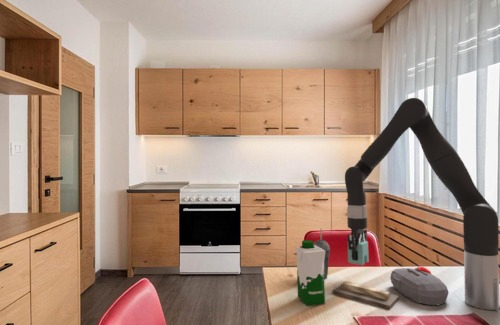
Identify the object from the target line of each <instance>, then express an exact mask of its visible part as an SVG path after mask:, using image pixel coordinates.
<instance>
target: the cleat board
mask: <svg viewBox="0 0 500 325" xmlns="http://www.w3.org/2000/svg"><path fill="white" fill-rule="evenodd" d="M332 294H333V295H336V296H340V297H344V298H347V299H351V300H355V301H358V302H361V303H365V304H369V305H372V306H375V307H376V306H377V307H380V308H383V309H386V310H391V309H392V308H393V307H394V306H395V305H396V303H397V302H398V301H400V295H397V294H394V293H390V291H387V290H383V289H378V288H374V287H369V286H366V285H361V284H359V283H358V284H356V283H353V282H349V281H343V282H342V284H340V285H338V286H337V287H335V288H333V289H332Z"/></svg>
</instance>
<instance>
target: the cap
mask: <svg viewBox="0 0 500 325" xmlns="http://www.w3.org/2000/svg"><path fill="white" fill-rule="evenodd" d="M416 268H417V269H418V270H421V271H423V272H426V273H429V274H432V272H431V271H430V270H429V269H428V268H427V267H424V266H417V267H416Z"/></svg>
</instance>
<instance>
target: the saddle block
mask: <svg viewBox="0 0 500 325" xmlns="http://www.w3.org/2000/svg"><path fill="white" fill-rule="evenodd" d="M355 243H357V242H355ZM369 261H370V260H369V241H368V240H367V241H364V242H363V241H360V244H359V245H358V260H357V261H356V260H352V250H349V247H348V246H347V262H348V264H349V263H350V264H353V265H359V266H365V263H369Z"/></svg>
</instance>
